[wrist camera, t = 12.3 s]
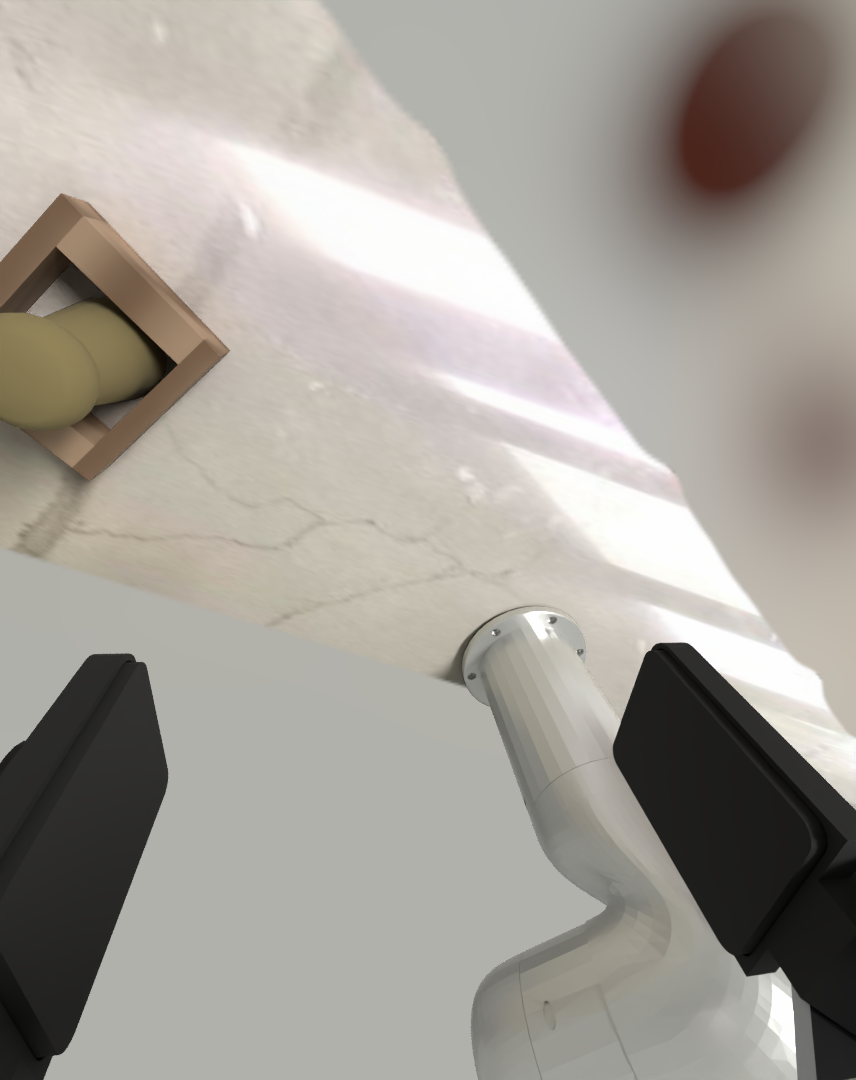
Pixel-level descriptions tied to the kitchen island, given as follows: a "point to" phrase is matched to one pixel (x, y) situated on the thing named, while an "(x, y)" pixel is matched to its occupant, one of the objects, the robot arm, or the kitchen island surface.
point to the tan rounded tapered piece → (73, 363)
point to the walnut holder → (136, 291)
